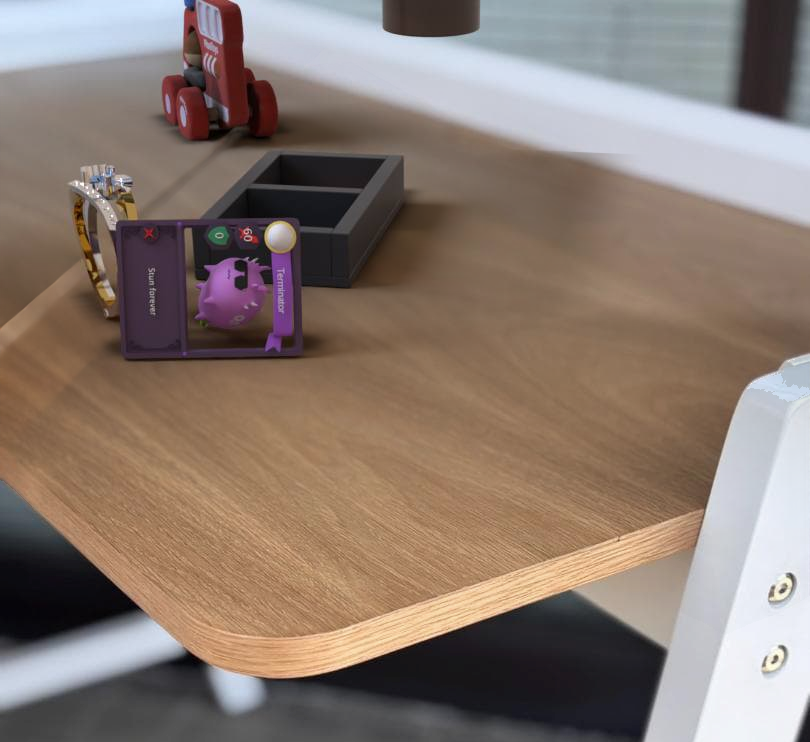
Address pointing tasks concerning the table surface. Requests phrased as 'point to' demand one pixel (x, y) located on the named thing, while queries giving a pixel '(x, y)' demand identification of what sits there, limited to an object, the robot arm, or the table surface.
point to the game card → (204, 285)
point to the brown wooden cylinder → (431, 17)
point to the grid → (312, 211)
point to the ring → (96, 196)
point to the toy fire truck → (217, 76)
